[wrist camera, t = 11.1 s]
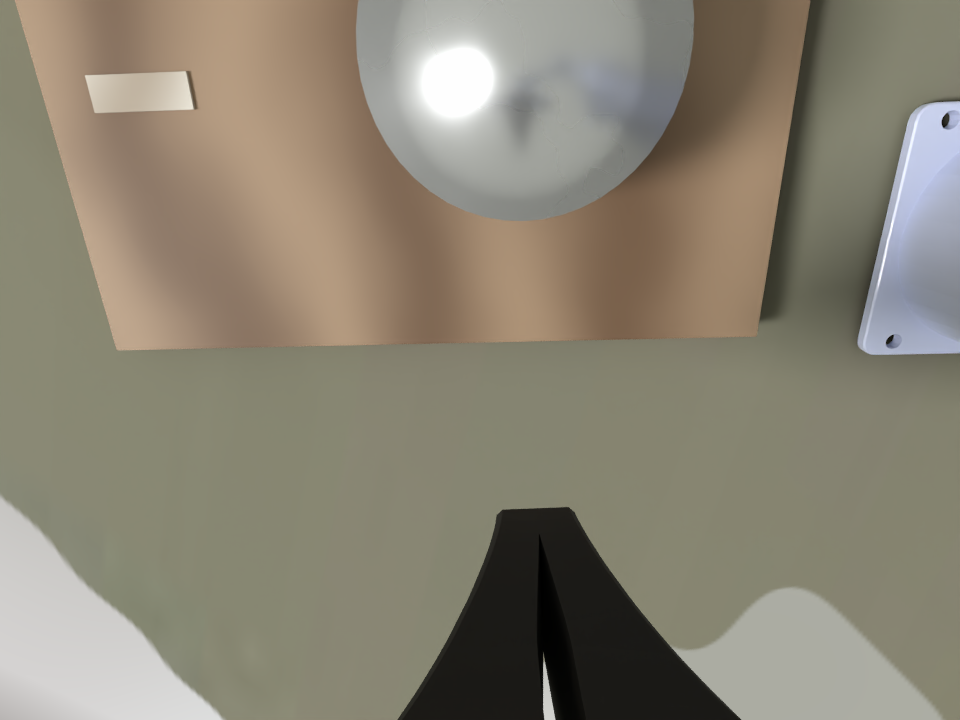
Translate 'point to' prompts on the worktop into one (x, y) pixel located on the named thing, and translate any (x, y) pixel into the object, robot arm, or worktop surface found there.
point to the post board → (388, 188)
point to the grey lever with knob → (522, 94)
